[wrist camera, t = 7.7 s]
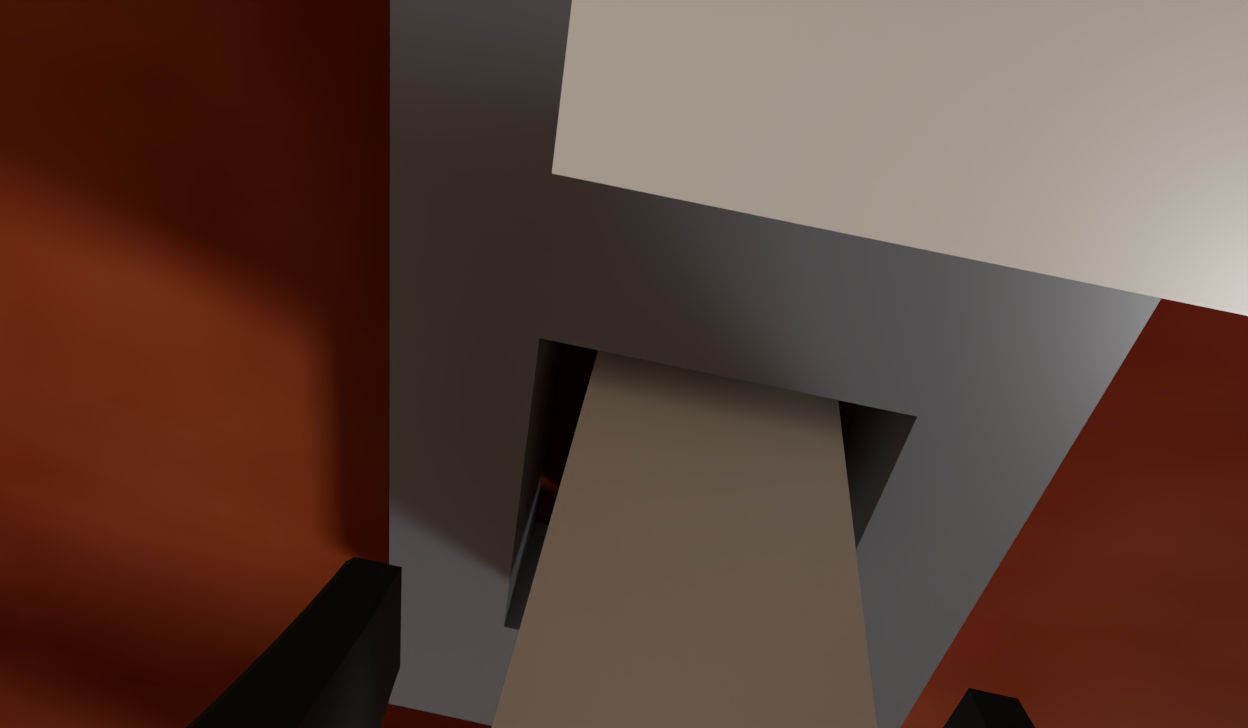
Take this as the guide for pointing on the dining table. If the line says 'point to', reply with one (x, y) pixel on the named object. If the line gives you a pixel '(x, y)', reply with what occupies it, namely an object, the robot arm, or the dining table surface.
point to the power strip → (788, 263)
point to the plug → (695, 564)
